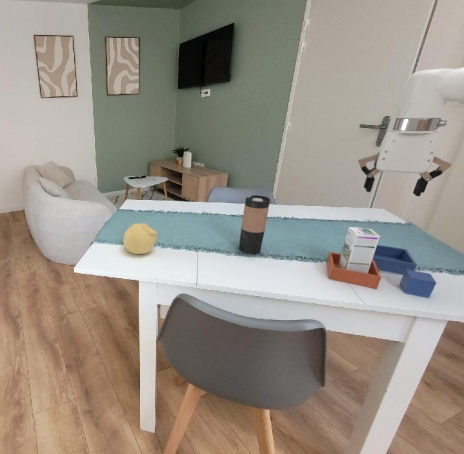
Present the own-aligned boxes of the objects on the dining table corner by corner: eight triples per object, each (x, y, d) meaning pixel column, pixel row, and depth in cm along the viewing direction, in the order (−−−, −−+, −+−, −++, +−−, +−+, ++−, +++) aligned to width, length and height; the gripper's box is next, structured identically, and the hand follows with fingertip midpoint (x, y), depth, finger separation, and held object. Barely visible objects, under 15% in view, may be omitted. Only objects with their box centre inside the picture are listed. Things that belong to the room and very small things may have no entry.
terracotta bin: (370, 270, 92) (374, 259, 90) (376, 289, 83) (381, 277, 82) (326, 262, 97) (329, 251, 96) (328, 278, 89) (332, 267, 87)
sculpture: (161, 251, 110) (162, 224, 106) (137, 261, 104) (137, 233, 100) (141, 241, 119) (141, 216, 115) (118, 249, 113) (117, 224, 109)
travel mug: (262, 255, 103) (272, 202, 96) (238, 253, 106) (246, 201, 98) (259, 246, 110) (268, 195, 102) (237, 244, 113) (244, 194, 105)
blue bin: (402, 259, 97) (406, 249, 95) (412, 276, 88) (416, 264, 86) (359, 252, 102) (362, 242, 101) (364, 267, 94) (368, 256, 92)
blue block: (423, 288, 82) (430, 273, 80) (429, 298, 78) (436, 282, 76) (399, 283, 85) (405, 269, 83) (403, 292, 81) (410, 277, 79)
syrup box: (366, 279, 87) (382, 235, 81) (342, 276, 88) (356, 233, 83) (358, 269, 92) (372, 227, 86) (335, 267, 93) (348, 226, 88)
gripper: (460, 124, 70) (432, 192, 76) (366, 124, 79) (348, 186, 85) (473, 127, 64) (442, 200, 71) (371, 127, 73) (351, 193, 80)
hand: (391, 192), depth 78 cm, fingers open, 9 cm apart
